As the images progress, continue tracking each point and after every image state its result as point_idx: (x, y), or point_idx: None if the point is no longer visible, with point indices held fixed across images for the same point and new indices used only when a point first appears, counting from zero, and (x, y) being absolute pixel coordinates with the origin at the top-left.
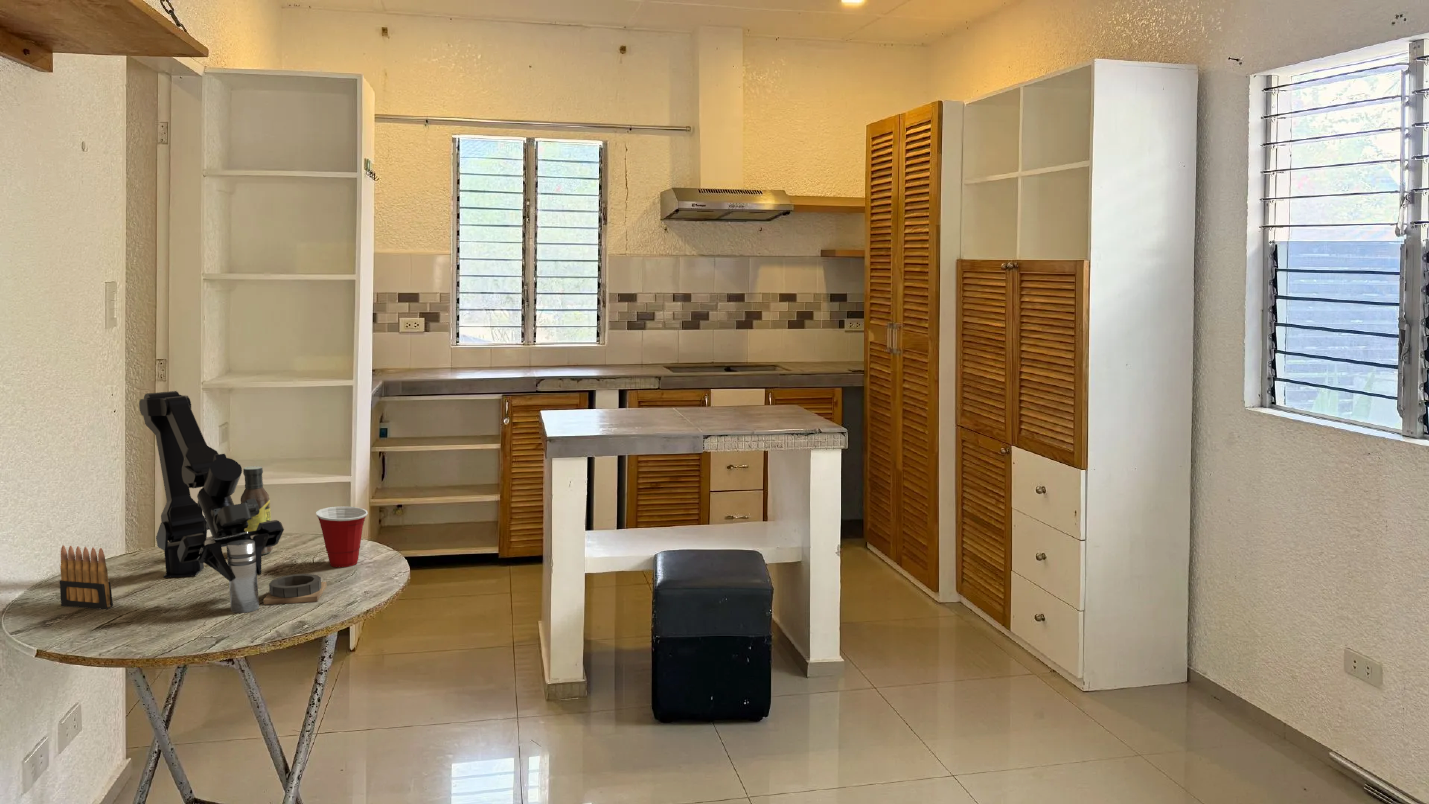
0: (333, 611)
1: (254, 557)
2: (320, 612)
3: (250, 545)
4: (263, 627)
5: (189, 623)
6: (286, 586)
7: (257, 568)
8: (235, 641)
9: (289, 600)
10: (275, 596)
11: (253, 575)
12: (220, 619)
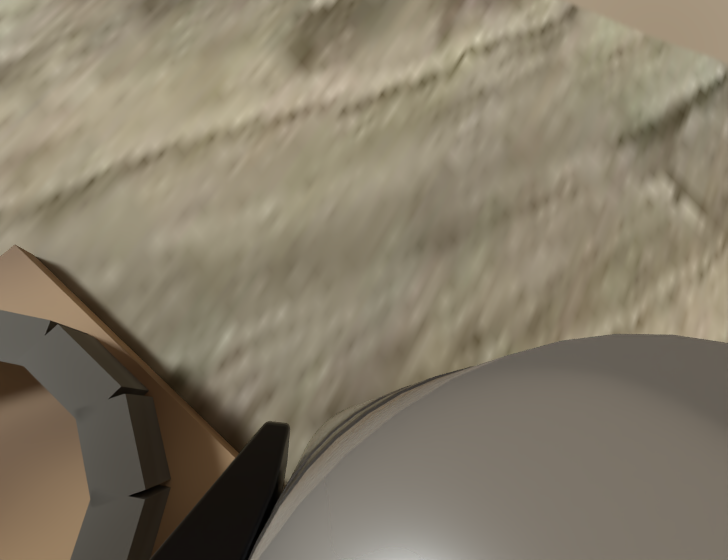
0: (113, 55)
1: (347, 420)
2: (160, 91)
3: (511, 359)
4: (461, 120)
5: None
6: (83, 408)
7: (280, 474)
8: (621, 64)
9: (139, 363)
10: (168, 466)
11: (371, 400)
12: None
